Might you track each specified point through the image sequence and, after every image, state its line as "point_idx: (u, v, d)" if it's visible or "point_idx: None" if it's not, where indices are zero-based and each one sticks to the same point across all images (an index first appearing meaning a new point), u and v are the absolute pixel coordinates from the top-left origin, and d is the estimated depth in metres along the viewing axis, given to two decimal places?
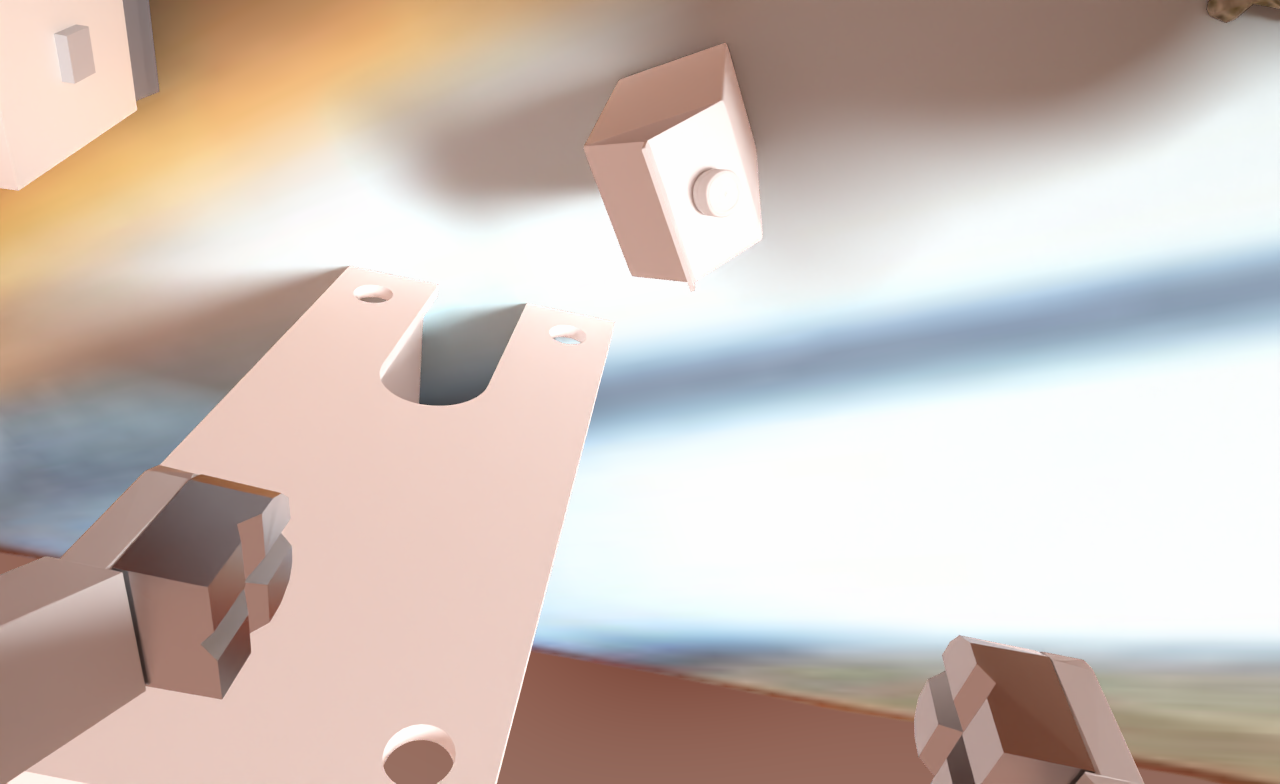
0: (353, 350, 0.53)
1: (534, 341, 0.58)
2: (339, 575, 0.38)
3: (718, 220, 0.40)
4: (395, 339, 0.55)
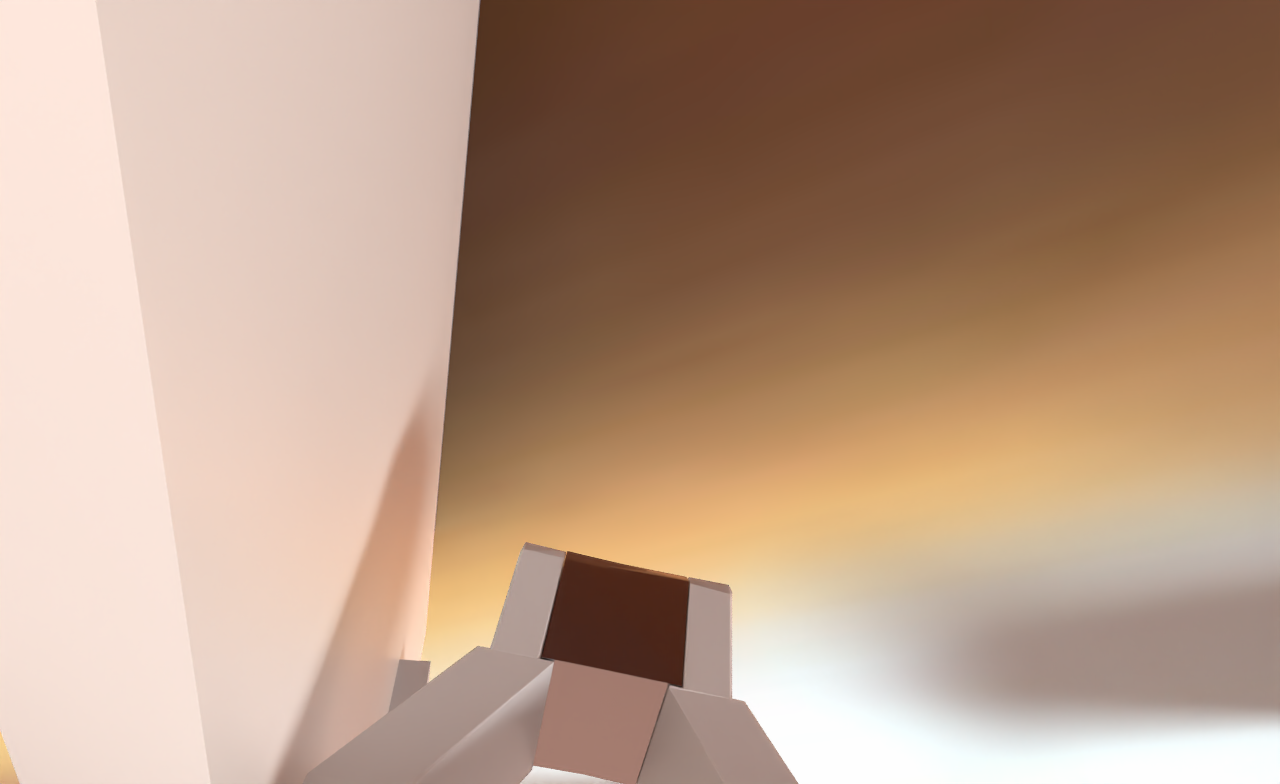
0: None
1: None
2: None
3: None
4: None
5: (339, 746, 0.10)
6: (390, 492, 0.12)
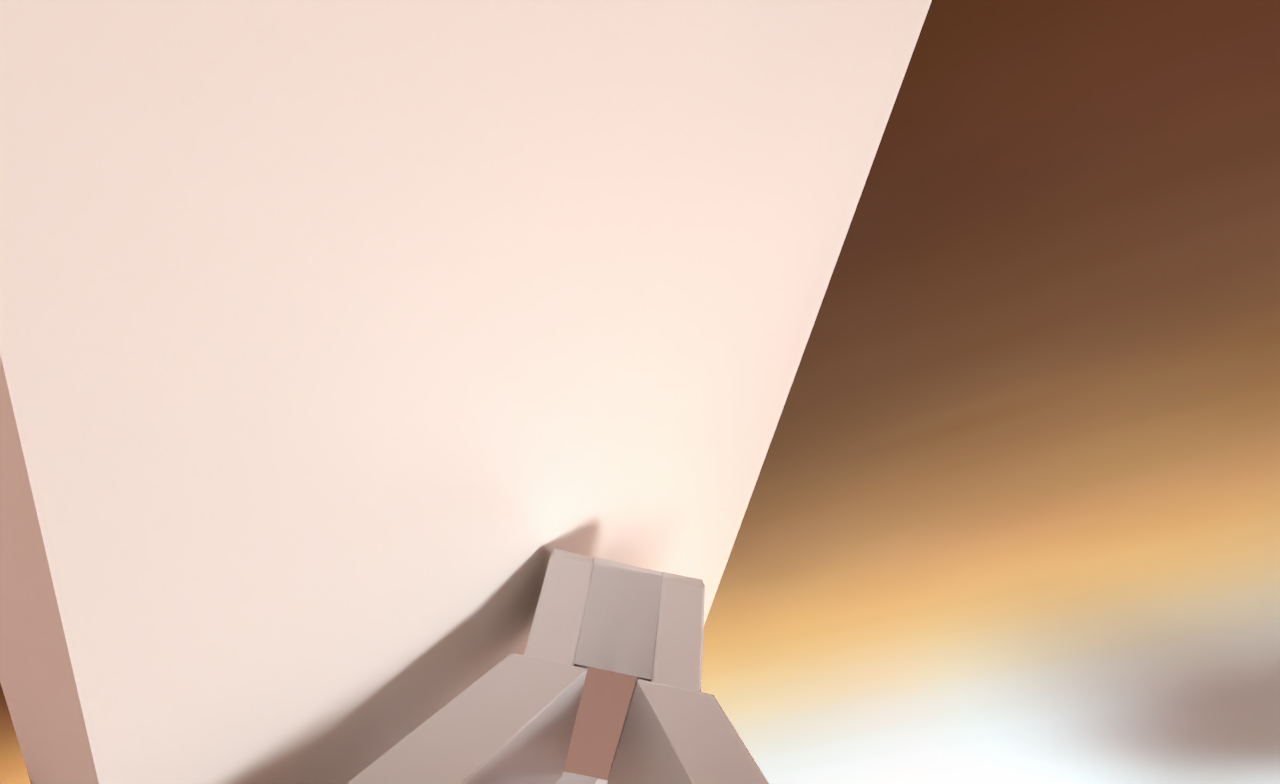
0: None
1: None
2: None
3: None
4: None
5: None
6: (587, 555, 0.11)
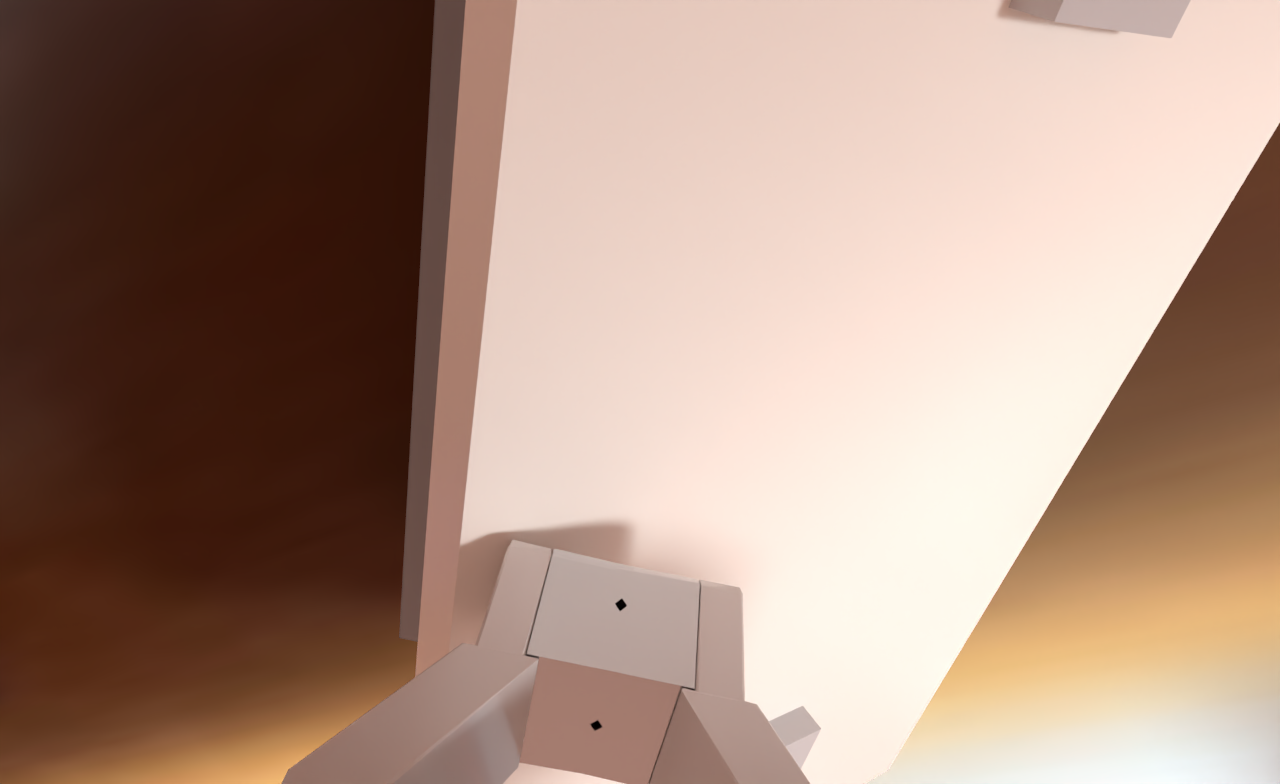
0: None
1: None
2: None
3: None
4: None
5: None
6: (820, 506, 0.13)
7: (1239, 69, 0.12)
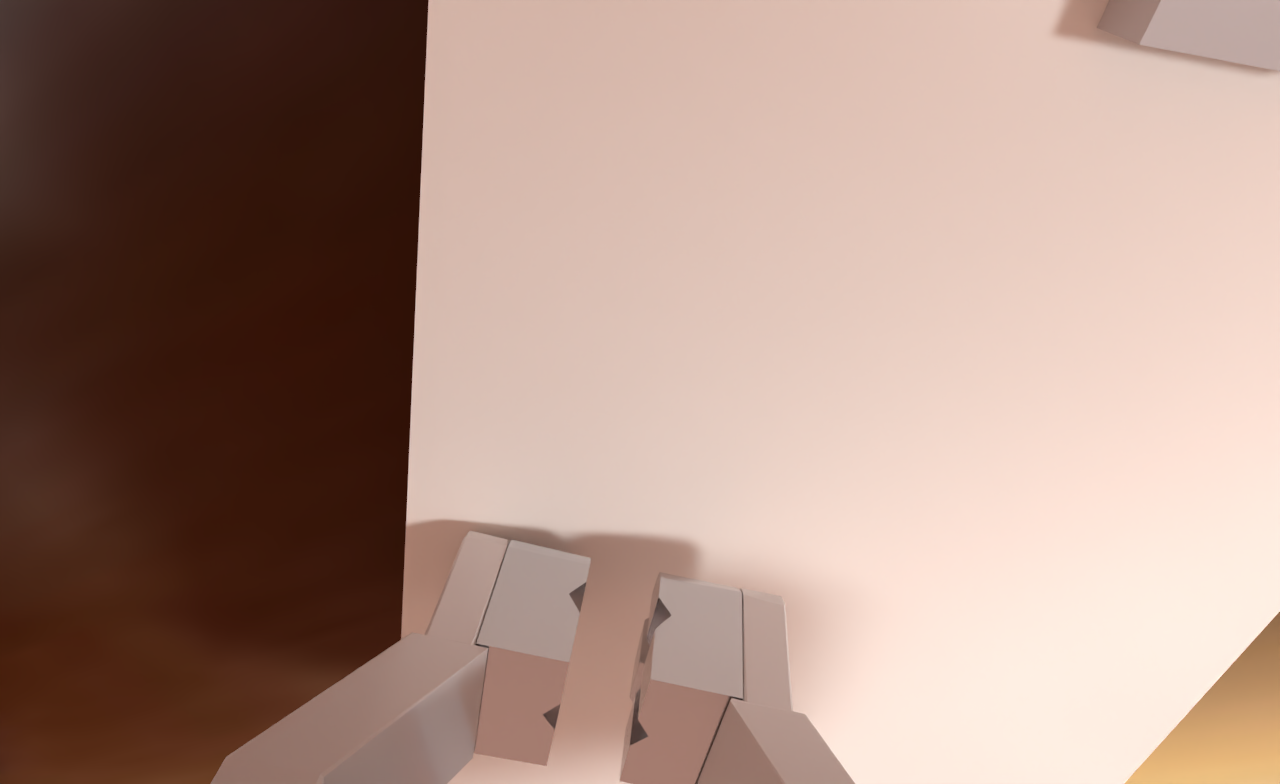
0: None
1: None
2: None
3: None
4: None
5: (634, 653, 0.12)
6: (857, 588, 0.12)
7: None
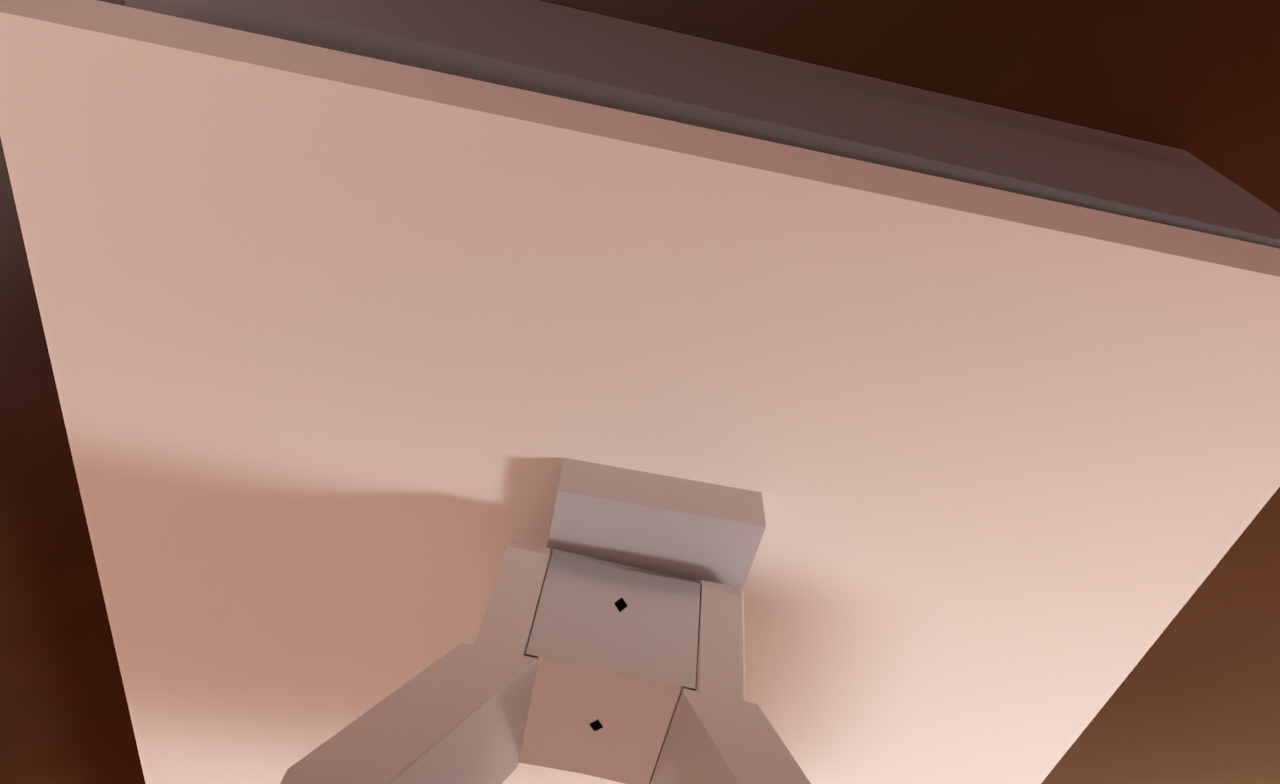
0: None
1: None
2: None
3: None
4: None
5: None
6: None
7: (946, 681, 0.12)
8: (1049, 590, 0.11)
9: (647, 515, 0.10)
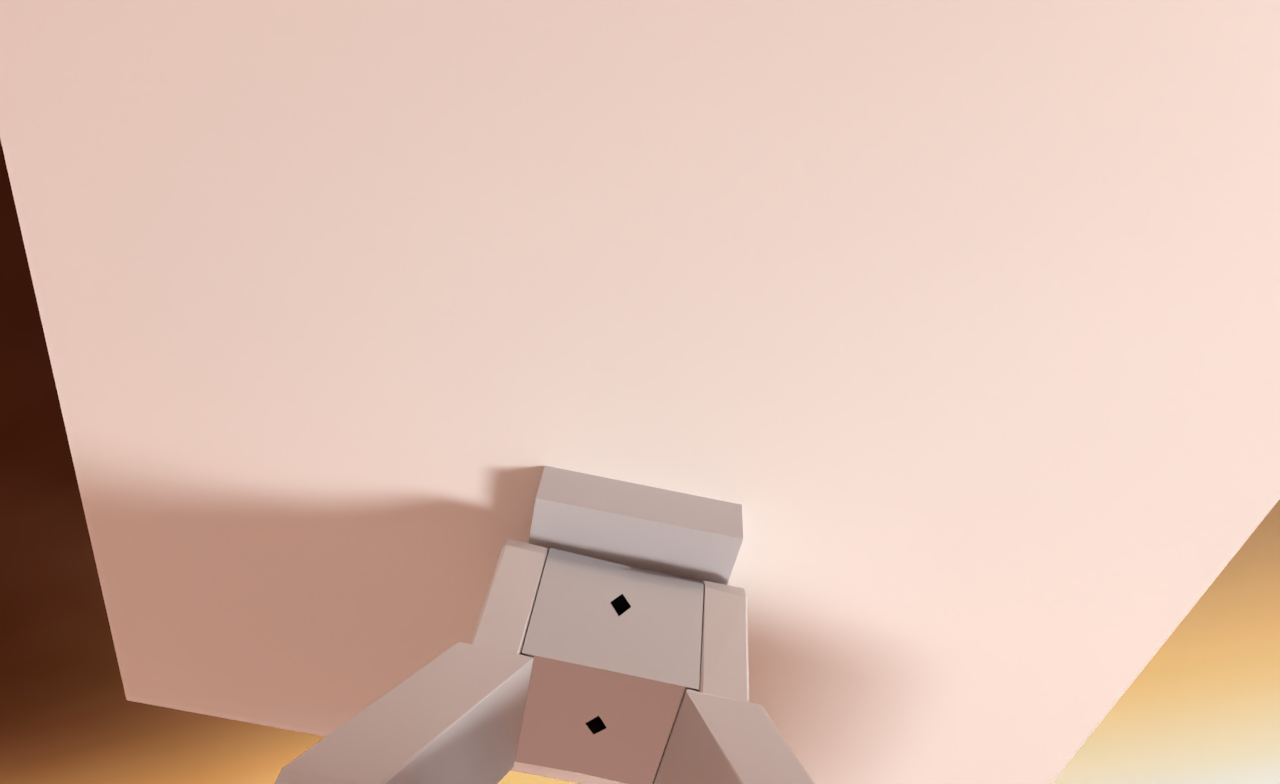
0: None
1: None
2: None
3: None
4: None
5: None
6: None
7: None
8: None
9: None
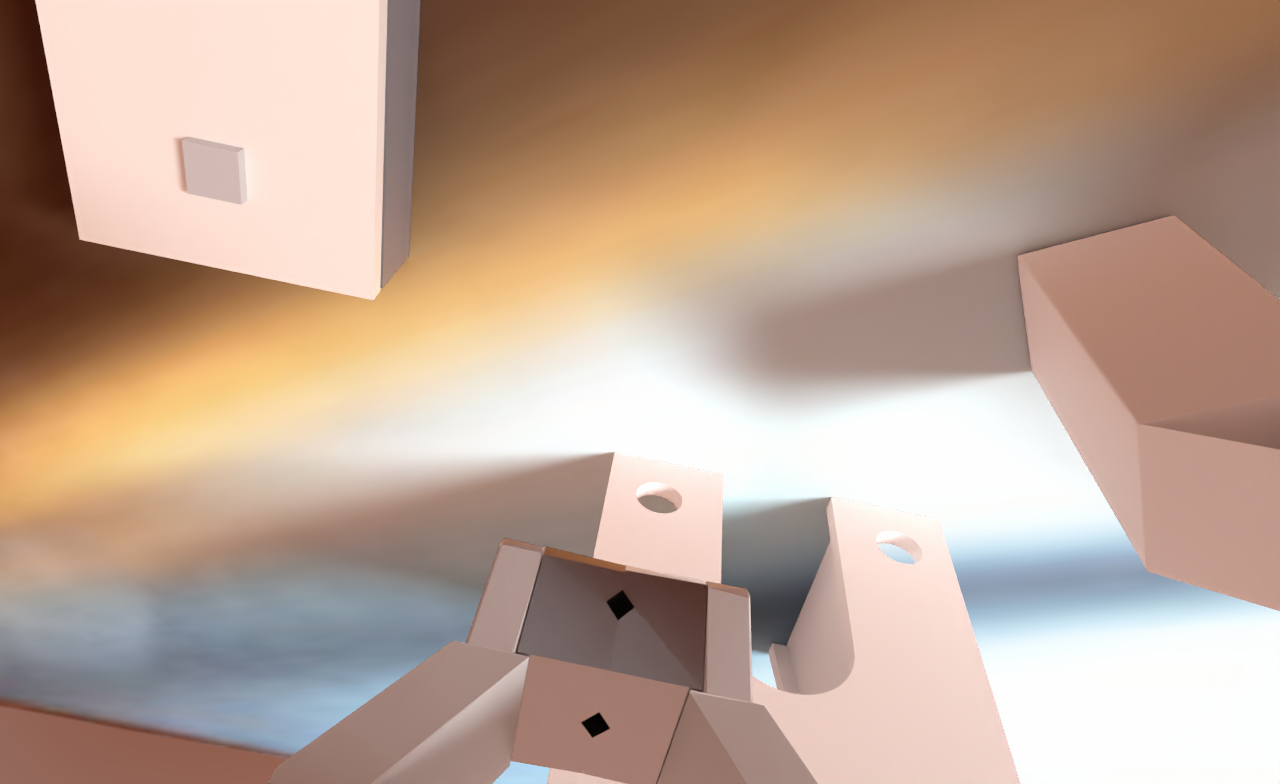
0: None
1: (869, 563, 0.46)
2: None
3: None
4: (716, 576, 0.43)
5: (111, 3, 0.34)
6: None
7: None
8: None
9: None
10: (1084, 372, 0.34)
